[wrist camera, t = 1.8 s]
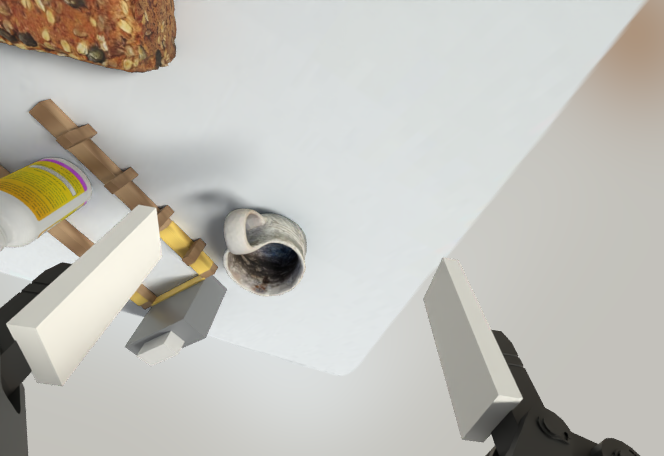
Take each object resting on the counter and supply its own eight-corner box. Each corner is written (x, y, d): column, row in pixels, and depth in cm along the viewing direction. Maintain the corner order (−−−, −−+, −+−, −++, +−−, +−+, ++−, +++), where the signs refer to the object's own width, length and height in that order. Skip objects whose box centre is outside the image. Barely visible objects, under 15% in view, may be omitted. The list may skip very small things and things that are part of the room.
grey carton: (156, 297, 51) (114, 358, 42) (207, 270, 48) (174, 330, 39) (175, 314, 53) (140, 376, 44) (226, 289, 50) (199, 351, 41)
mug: (262, 270, 48) (244, 324, 39) (210, 200, 42) (176, 246, 33) (321, 248, 45) (316, 301, 37) (275, 171, 39) (256, 212, 31)
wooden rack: (-21, 163, 40) (-54, 177, 37) (57, 92, 35) (27, 100, 32) (149, 302, 52) (135, 322, 49) (224, 263, 47) (215, 282, 44)
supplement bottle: (38, 145, 39) (-82, 195, 28) (97, 171, 40) (5, 227, 29) (37, 190, 42) (-71, 250, 31) (91, 212, 43) (6, 277, 32)
